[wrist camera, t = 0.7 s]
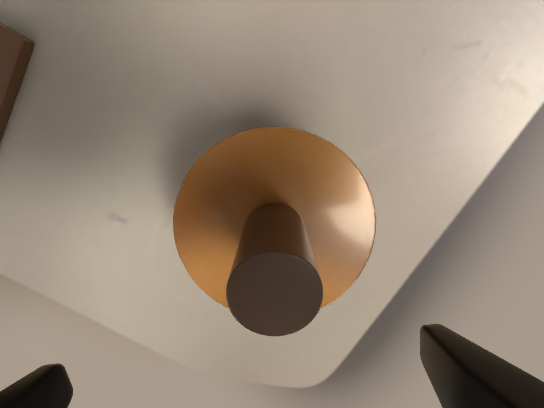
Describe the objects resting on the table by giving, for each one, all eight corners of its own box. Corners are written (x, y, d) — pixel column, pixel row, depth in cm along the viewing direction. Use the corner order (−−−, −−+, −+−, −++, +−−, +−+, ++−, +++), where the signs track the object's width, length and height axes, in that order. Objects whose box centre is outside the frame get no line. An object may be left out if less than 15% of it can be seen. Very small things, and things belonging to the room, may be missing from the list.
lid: (371, 295, 16) (436, 407, 10) (200, 314, 17) (152, 432, 10) (364, 114, 14) (445, 102, 7) (161, 140, 14) (65, 152, 8)
